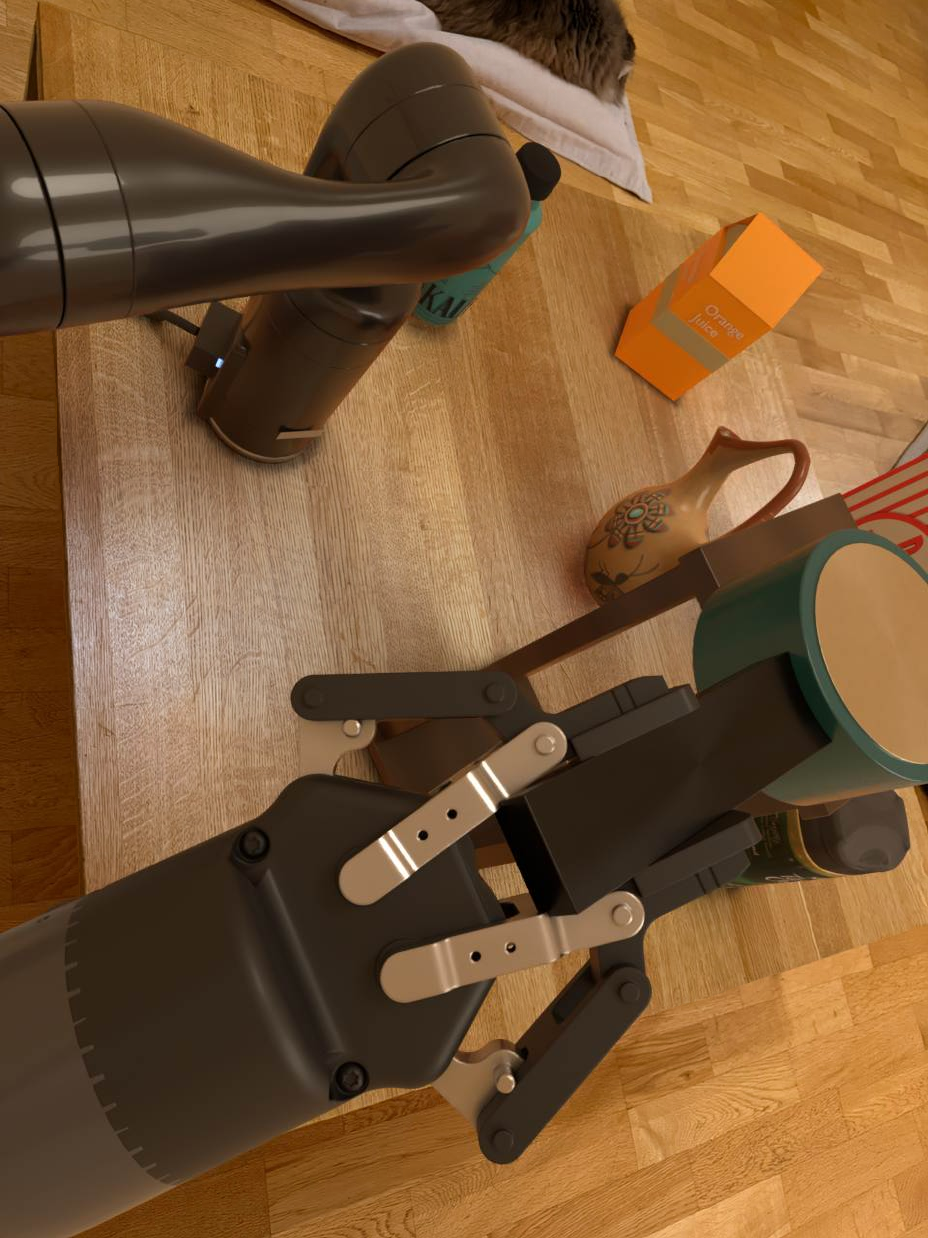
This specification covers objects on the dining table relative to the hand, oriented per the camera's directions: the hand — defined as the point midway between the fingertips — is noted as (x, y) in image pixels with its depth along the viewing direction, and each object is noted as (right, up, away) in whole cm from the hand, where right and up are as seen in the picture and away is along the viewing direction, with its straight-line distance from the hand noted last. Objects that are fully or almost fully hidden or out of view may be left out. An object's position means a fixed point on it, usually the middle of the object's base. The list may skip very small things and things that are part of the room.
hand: (713, 759), depth 26 cm
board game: (+23, +1, +72) cm, 75 cm away
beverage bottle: (-11, +33, +63) cm, 72 cm away
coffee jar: (+15, -17, +60) cm, 64 cm away
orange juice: (+14, +33, +78) cm, 86 cm away
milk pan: (+1, 0, +6) cm, 7 cm away
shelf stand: (-6, -8, +50) cm, 51 cm away
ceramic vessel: (+6, +8, +64) cm, 64 cm away
